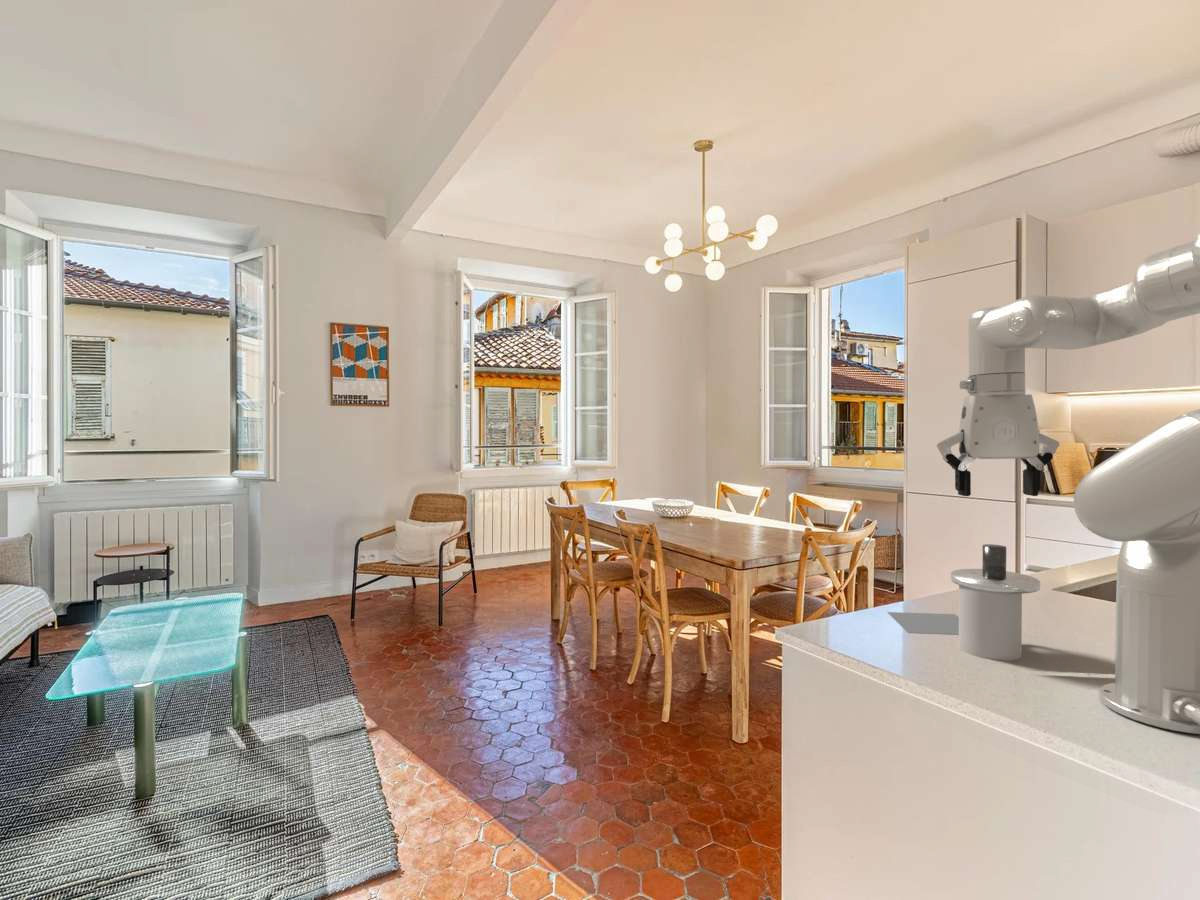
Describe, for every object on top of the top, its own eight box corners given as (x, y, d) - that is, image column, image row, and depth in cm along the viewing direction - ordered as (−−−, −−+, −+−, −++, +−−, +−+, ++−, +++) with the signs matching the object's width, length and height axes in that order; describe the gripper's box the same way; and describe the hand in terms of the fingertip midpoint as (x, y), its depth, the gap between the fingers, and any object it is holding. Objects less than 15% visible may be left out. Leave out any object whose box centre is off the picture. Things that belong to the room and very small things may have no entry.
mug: (1009, 668, 92) (1010, 595, 92) (948, 652, 99) (949, 584, 99) (1038, 650, 99) (1038, 582, 99) (980, 636, 106) (980, 573, 106)
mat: (983, 638, 105) (983, 635, 105) (908, 636, 107) (908, 632, 107) (954, 617, 117) (954, 614, 117) (887, 615, 119) (887, 612, 119)
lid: (1057, 594, 92) (1057, 554, 92) (970, 592, 94) (970, 553, 94) (1015, 575, 104) (1016, 539, 104) (939, 573, 106) (939, 538, 105)
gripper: (947, 387, 95) (947, 497, 96) (1071, 383, 93) (1071, 497, 93) (929, 390, 103) (929, 493, 103) (1043, 387, 100) (1044, 492, 100)
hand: (997, 495), depth 98 cm, fingers open, 9 cm apart
